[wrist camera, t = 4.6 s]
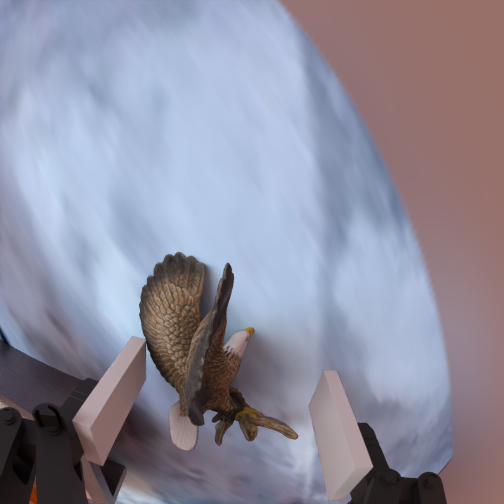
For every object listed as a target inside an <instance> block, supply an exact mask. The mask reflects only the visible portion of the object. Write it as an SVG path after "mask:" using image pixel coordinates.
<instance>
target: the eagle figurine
mask: <svg viewBox="0 0 504 504" xmlns="http://www.w3.org/2000/svg"><path fill="white" fill-rule="evenodd" d="M204 279H205V264H204V263H201V262H199V263H197V261H196V260H195V258H194V257H193V256H188V257H187V258H185V256H184V254H182V253H181V252H177V253H176V254H175V256H173V255H171V254H168V255H166V256H165V258H164V261H163V263H157V264H156V265H155V268H154V276H153V277H152V276H151V275H150V276H149V277H148V278H147V285H144V287H143V288H142V293H141V302H140V304H139V307H140V314H139V316H140V319H141V326H142V330H143V334H144V336H145V337H146V338H145V339H146V344H147V348H148V350H149V352H150V356H151V358H152V360H153V362H154V363H155V365H156V367H157V369H158V370H159V371H160V374H161V375H162V377H164V378H165V380H166V381H167V382H168V383H170V385H171V386H172V387H173V388H176V391H177V392H178V393H179V396H180V401H178V402H177V403H175V404H174V405H172V406H171V408H170V412H169V422H170V434H171V436H172V441H173V443H174V444H175V445H176V446H177V447H178V448H179V449H182V450H184V451H191V450H192V449H194V448H195V446H196V443H197V439H198V426H202V425H204V418H203V414H204V413H205V412H206V410H212V411H215V412H217V413H218V414H217V415H215V416H214V417H213V419H212V422H213V423H215V422H217V421H219V420H221V421H220V422H219V423H218V424H217V425H216V426H215V429H216V436H215V442H216V443H217V445H219V446H220V445H221V443H222V437H223V435H224V433H225V432H226V430H227V429H228V428H229V427H230V426H231V425H232V424H233V422H234V420H236V421H239V424H240V428H241V430H242V431H243V434H244V436H245V438H246V439H247V440H248V441H253V440H254V439H255V437H256V435H257V426H262V427H266V428H269V429H273V430H275V431H278V432H280V433H282V434H283V435H284V436H286V437H288V438H290V439H297V438H298V435H297V433H296V432H294V431H293V430H292V429H291V428H290V427H289V426H288V425H287V424H285V423H283V422H281V421H280V420H277V419H275V418H272V417H267V416H265V415H263V414H262V413H260V412H258V411H256V410H255V409H253V408H251V407H250V406H249V405H248V404H247V403H246V402H245V399H244V398H243V397H242V394H241V392H239V391H238V389H236V388H233V387H230V386H229V385H230V383H231V382H232V381H233V379H234V378H235V376H236V374H237V371H238V369H239V366H240V362H241V359H242V356H243V353H244V351H245V349H246V346H247V344H248V340H249V336H250V334H251V333H253V332H254V329H253V328H252V327H249V328H247V329H245V330H242V331H238V332H235V333H234V334H233V335H232V336H231V338H230V339H229V340H228V342H227V343H226V344H225V345H224V346H223V339H224V335H225V329H226V323H227V320H226V311H227V306H228V302H229V299H230V296H231V292H232V288H233V283H234V274H233V273H232V268H231V266H230V264H229V263H227V264H226V265H225V268H224V272H223V277H222V278H221V279H220V282H219V285H218V290H217V295H216V298H215V303H214V306H213V308H212V309H211V310H210V311H209V313H208V314H207V315H206V317H205V318H204V319H203V320H202V322H201V316H200V301H201V296H202V291H203V283H204Z"/></svg>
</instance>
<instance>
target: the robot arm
mask: <svg viewBox="0 0 504 504" xmlns="http://www.w3.org/2000/svg"><path fill="white" fill-rule="evenodd" d="M145 380H146V339H142V338H138V337H135V336H132V338H131V339H130V340H129V342H128V343H127V344H126V346H125V347H124V348H123V350H122V351H121V352H120V354H119V355H118V356H117V358H116V359H115V360H114V362H113V363H112V365H111V366H110V367H109V369H108V370H107V371H106V373H105V374H104V376H103V377H102V378H101V380H100V381H96V380H93V379H90V378H87V379H85V380H83V381H82V382H80V383H79V384H78V385H77V387H76V388H75V389H74V391H73V392H72V393H71V394H70V397H68V398H67V400H66V401H65V402H64V404H63V405H62V406H61V408H59V407H58V406H56V405H54V404H51V403H42V404H39V405H37V406H36V407H35V408H34V409H33V411H32V416H33V418H34V420H35V421H34V420H30V419H26V418H22V416H21V414H20V412H19V411H18V410H17V409H15V408H12V407H4V408H2V409H0V504H29V501H30V496H31V492H32V488H33V484H34V480H35V476H36V490H37V504H88V501H87V495H86V489H85V482H84V475H83V467H82V462H81V458H82V456H83V454H85V457H86V459H87V460H89V461H91V462H94V463H96V464H98V465H101V466H103V465H104V463H105V460H106V458H107V456H108V454H109V452H110V450H111V448H112V446H113V444H114V442H115V440H116V438H117V436H118V434H119V432H120V430H121V428H122V426H123V424H124V422H125V420H126V418H127V416H128V414H129V412H130V410H131V408H132V406H133V404H134V402H135V400H136V398H137V396H138V394H139V392H140V390H141V388H142V386H143V384H144V382H145ZM309 410H310V415H311V419H312V424H313V429H314V433H315V438H316V443H317V448H318V452H319V457H320V462H321V467H322V472H323V477H324V482H325V487H326V492H327V497H328V500H339V499H345V498H346V497H347V496H348V495H349V494H351V498H352V500H351V501H350V502H348V503H347V504H447V503H446V498H445V493H444V489H443V484H442V481H441V479H440V477H439V476H438V475H437V474H435V473H433V472H425V473H423V474H421V475H420V476H419V477H418V478H405V477H401V476H400V474H399V473H398V472H397V471H395V470H393V469H390V468H389V467H388V464H387V462H386V459H385V457H384V454H383V452H382V449H381V447H380V445H379V442H378V440H377V439H376V438H377V437H376V435H375V433H374V430H373V429H372V428H371V427H370V426H369V425H368V424H367V423H357V422H356V419H355V417H354V414H353V411H352V409H351V406H350V404H349V401H348V399H347V396H346V393H345V391H344V388H343V386H342V383H341V381H340V378H339V376H338V373H337V371H331V370H323V372H322V375H321V377H320V380H319V382H318V385H317V387H316V390H315V392H314V395H313V397H312V399H311V402H310V404H309Z"/></svg>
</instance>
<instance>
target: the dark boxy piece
mask: <svg viewBox="0 0 504 504" xmlns="http://www.w3.org/2000/svg"><path fill="white" fill-rule="evenodd" d="M80 382H82V380H80V379H77V378H75V377H72V376H70V375H68V374H65V373H63V372H61V371H59V370H57V369H54V368H52V367H50V366H48V365H46V364H44V363H42V362H40V361H38V360H36V359H34V358H32V357H30V356H28V355H26V354H24V353H22V352H21V351H19V350H17V349H15V348H13V347H12V346H10V345H8V344H6V343H5V342H3V341H1V340H0V409H2V408H4V407H12V408H15V409H17V410H18V411H19V412H20V414H21V416H22V418H26V419H30V420H34V418H33V416H32V411H33V409H34V408H35V407H36V406H37V405H39V404H42V403H51V404H54V405H56V406H58V407H59V408H61V406H62V405H63V404H64V402H65V401H66V400H67V398H68V397H70V394H71V393H72V392H73V391H74V389H75V388H76V387H77V385H78V384H79V383H80ZM34 421H35V420H34ZM81 462H82V467H83V475H84V482H85V489H86V495H87V500H90V501H92V502H94V503H97V504H115V501H116V499H117V496H118V493H119V491H120V488H121V486H122V483H123V481H124V478H125V475H126V473H127V472H126V468H125V467H124V466H121V465H118V464H116V463H113V462H110V461H108V460H105V463H104V465H103V466H101V465H98V464H96V463H94V462H91V461H89V460H87V459H86V457H85V454H83V456H82V458H81Z"/></svg>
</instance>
